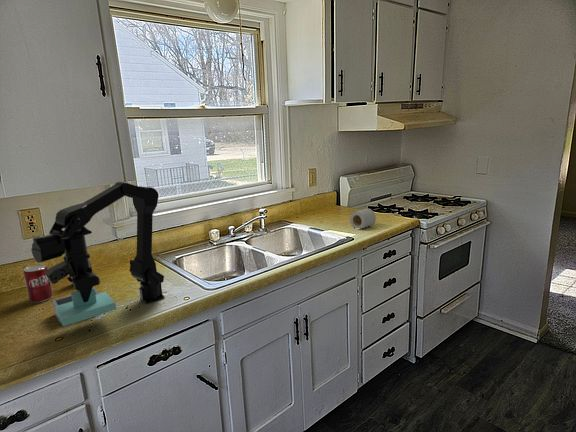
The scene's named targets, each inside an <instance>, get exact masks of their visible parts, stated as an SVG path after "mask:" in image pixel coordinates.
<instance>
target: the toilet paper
mask: <svg viewBox="0 0 576 432" xmlns="http://www.w3.org/2000/svg"><path fill="white" fill-rule="evenodd" d="M376 220H377V217H376V214H375V212H374V211H373V210H372V209H371V208H363V209H360V210H356V211H353V212H352V213H351V214H350V217H349V221H350V222H349V223H350V224H351V225H350V226H352V228H353V227H356V228H361V229H360V230H363V229H365V227H366V228H369V227H372V226H374V224H375V223H376ZM371 225H372V226H371ZM368 226H369V227H368ZM362 228H363V229H362Z"/></svg>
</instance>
